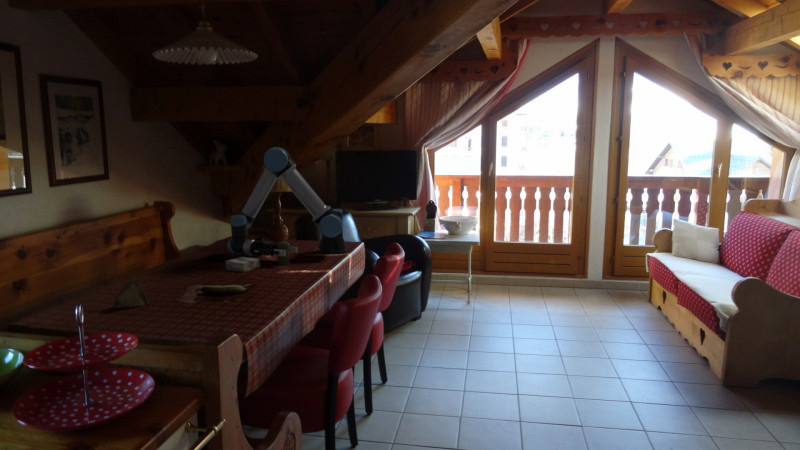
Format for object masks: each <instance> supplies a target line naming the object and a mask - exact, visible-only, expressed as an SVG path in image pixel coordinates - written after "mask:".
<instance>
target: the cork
mask: <svg viewBox="0 0 800 450" xmlns="http://www.w3.org/2000/svg"><path fill="white" fill-rule="evenodd" d="M277 245H278V248H279V250H286V256H278V255H277V265H278V266H288V265H290V264H291V260H290V255H289V252H288V246H290V245H289V242H288V241H282V240H281V241H279V242H277Z"/></svg>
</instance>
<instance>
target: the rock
mask: <svg viewBox="0 0 800 450" xmlns="http://www.w3.org/2000/svg"><path fill="white" fill-rule="evenodd" d="M148 304H149V299H148V297H147V294H146V293H145V292H144V290H143V288H142V287H141V285H140V284H139V282H137V280H129V281H128V282H126V283H125V284H124V285H123V287H122V288H121V289H120V290H119V293H118V294H117V295H116V297H115V299H114V302H113V305H112V306H113V309H118V308H121V309H123V308H137V307H143V306H146V305H148Z"/></svg>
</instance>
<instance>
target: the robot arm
mask: <svg viewBox="0 0 800 450" xmlns="http://www.w3.org/2000/svg"><path fill="white" fill-rule="evenodd" d="M263 156H264V157H263V163H264V166H263V167H264V171H263V172H262V174H261V176H260V179H259V180H258V182H257V183H256V186H255V187H254V189H253V190H252V192H251V194H250V196H249V198H248V200H247V201H246V203H245V205H244V207H243V209H242V211H241V212H240V213H239V214H235V215H231V217H230V231H231V238H229V240H228V241H227V245H226V247H227V250H228V252H230V253H233V254H236V255H237V254H239V255H249V256H250V257H252V256H255V257H256V256H257V257H259V256H260V257H261V256H268V257H269V256H270V257H271V258H272V257H274V256H277V257H278V256H286V250H279V248H278V244H274V243H272V244H268V243H265V242H264V241H262V240H256V239H248V230H250V228H251V227H252V225H253V222H254V221H255V219H256V217H257V215H258V213H259V212H260V210H261V208H262V206H263V204H264V203H265V201H266V199H267V198H268V196H269V194H270V192H271V190H272V188H273V186H274V185H275V183H276V182H277V179H278V180H282V181H283V182H284V183H285V184H286V186H287V187H288V188H289V190H290V191H291V192H292V193H293V194H294V195H295V197H296V198H297V199H298V200H299V201H300V202H301V204H302V205H303V206H304V207H305V208H306V210H307V211H308V212H309V214H310V215H311V216H312V222H313V223H314V225H315V226H316V227H317V228H318V230H319V232H320V236H321V237H320V241H319V243H318V244H319V245H318V248H317V250H318V253H320V254H326V255H332V254H333V255H337V254H342V253H346V252H347V250H348V249H347V245H346V242H345V240H344V239H345V238H344V228H343V227H344V225H343V218H344V217H343V216H344V213H343V209H341V208H332V206H330V205H326V204H325V202H324V201H323V200H322V199H321V198H320V197H319V195H317V193H316V192H315V190H314V189H313V188H312V186H310V185H309V183H308V181H306V179H305V178H304V177H303V176H302V174H301V173H300V172H299V171H298V170H297V168H296V167H297V164H296V162H295V161H294V160H293V158H292V157H291V155H290V153H289V151H288V150H287V149H285V148H284V147H280V146H275V147H271V148H269V149H268V150H267V151H265V153H264V155H263ZM288 253H295V254H298V247H297V246H291V245H289V246H288Z"/></svg>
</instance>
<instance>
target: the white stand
mask: <svg viewBox="0 0 800 450" xmlns="http://www.w3.org/2000/svg"><path fill="white" fill-rule="evenodd" d="M258 268H261V258H259V257H256V258H255V257H251V256H250V257H249V256H248V257H247V256H240V257H236V258H233V259H228V260H225V270H229V271H234V272H235V271H236V272H243V273H244V272H248V271H251V270H252V271H253V270H255V269H258Z"/></svg>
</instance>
